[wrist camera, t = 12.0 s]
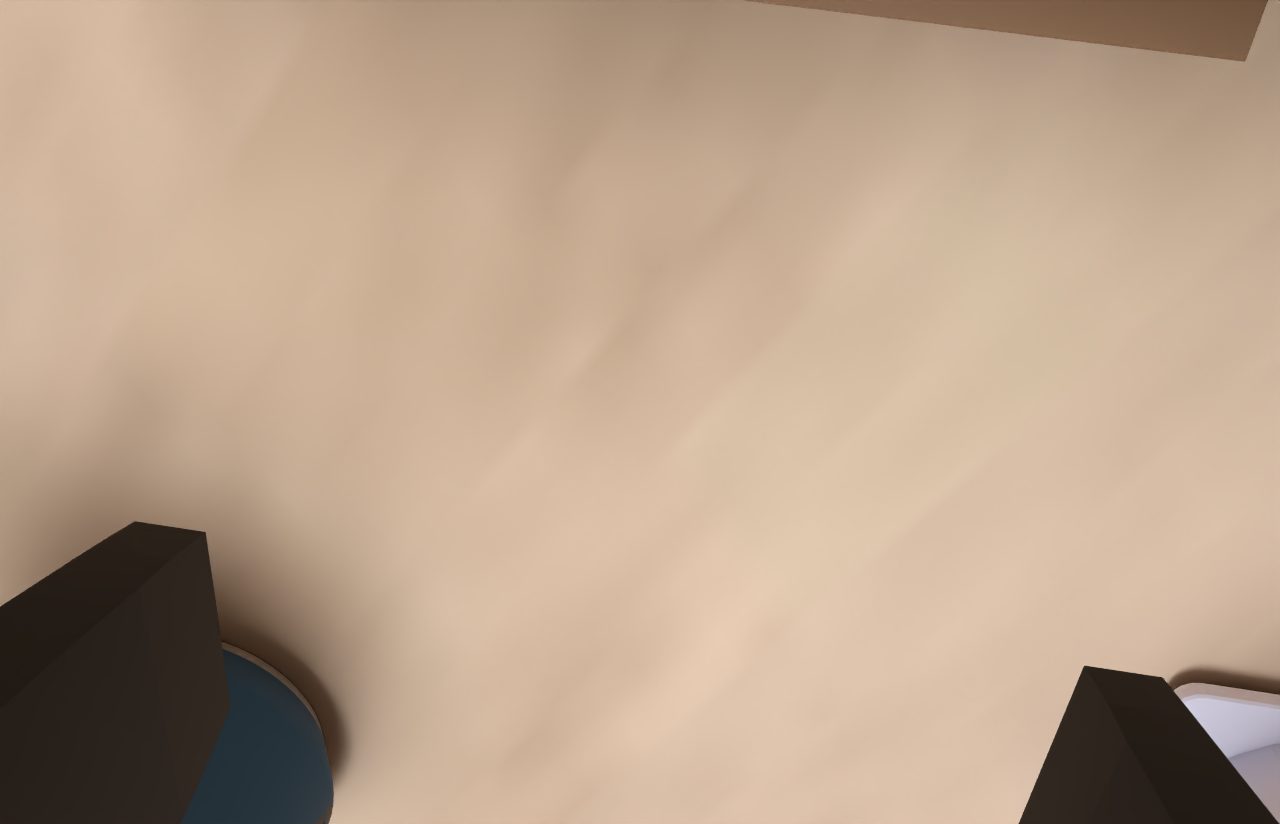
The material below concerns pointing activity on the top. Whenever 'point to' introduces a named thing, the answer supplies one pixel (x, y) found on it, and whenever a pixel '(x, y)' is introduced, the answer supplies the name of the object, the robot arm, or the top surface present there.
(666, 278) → the top surface
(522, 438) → the top surface
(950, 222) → the top surface
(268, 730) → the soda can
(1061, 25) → the walnut collar
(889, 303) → the top surface
